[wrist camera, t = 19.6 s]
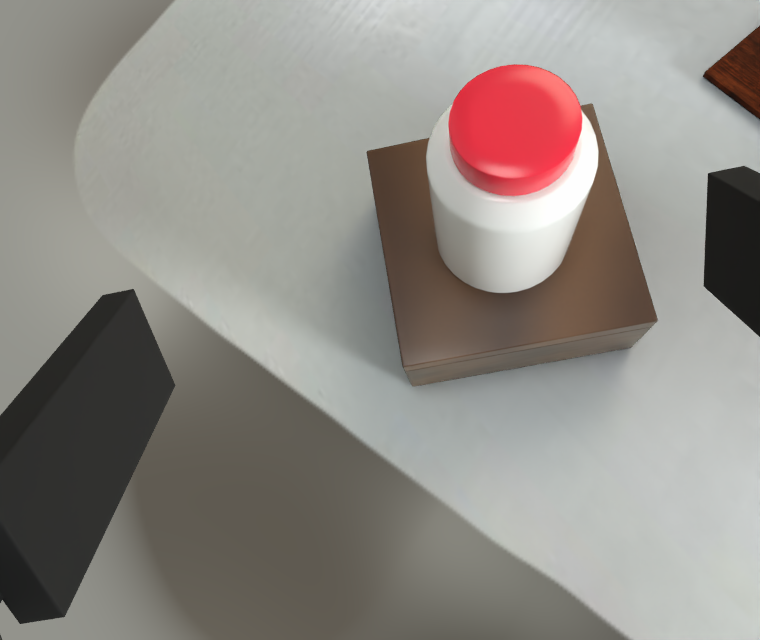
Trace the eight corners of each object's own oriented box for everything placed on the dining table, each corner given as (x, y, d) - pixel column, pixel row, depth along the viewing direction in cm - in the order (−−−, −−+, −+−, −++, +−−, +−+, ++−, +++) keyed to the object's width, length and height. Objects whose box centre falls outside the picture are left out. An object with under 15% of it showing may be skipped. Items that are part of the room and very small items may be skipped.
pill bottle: (425, 185, 38) (407, 63, 28) (553, 159, 38) (585, 24, 27) (448, 304, 36) (438, 221, 25) (585, 279, 35) (634, 182, 25)
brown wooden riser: (412, 387, 41) (402, 367, 35) (379, 195, 45) (366, 150, 39) (631, 347, 40) (658, 320, 34) (576, 155, 44) (592, 102, 38)
